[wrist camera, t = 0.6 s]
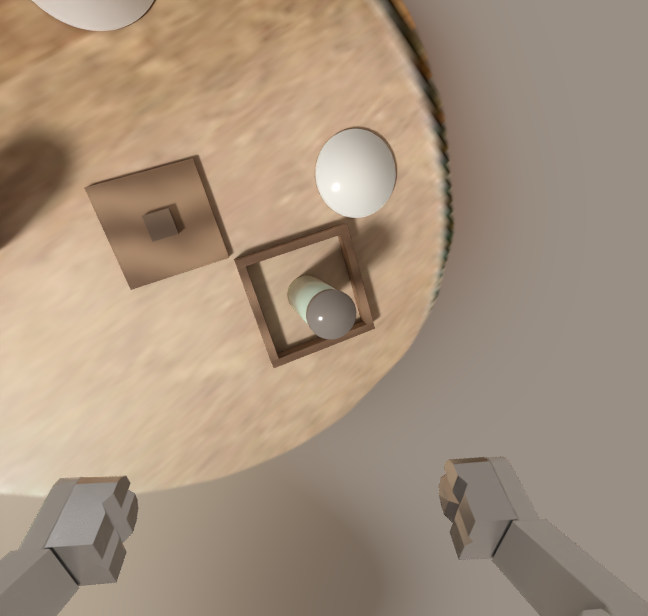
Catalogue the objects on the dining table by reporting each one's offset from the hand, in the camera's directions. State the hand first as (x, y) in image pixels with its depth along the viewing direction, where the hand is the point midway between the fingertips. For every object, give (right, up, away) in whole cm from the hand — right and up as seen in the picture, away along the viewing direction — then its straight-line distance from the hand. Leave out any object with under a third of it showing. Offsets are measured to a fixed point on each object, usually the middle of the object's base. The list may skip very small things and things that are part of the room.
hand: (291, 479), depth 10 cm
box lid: (-18, +14, +36) cm, 43 cm away
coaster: (+5, +22, +41) cm, 47 cm away
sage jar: (-2, +6, +43) cm, 44 cm away
